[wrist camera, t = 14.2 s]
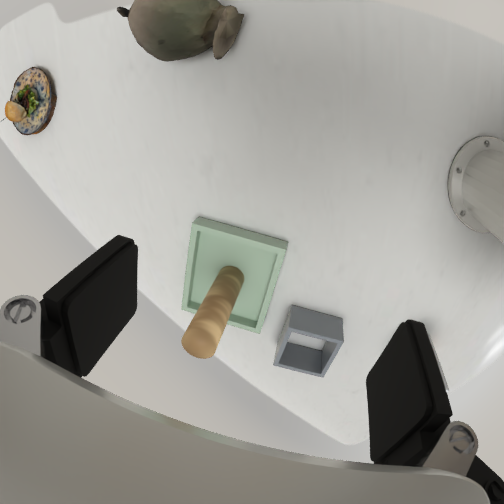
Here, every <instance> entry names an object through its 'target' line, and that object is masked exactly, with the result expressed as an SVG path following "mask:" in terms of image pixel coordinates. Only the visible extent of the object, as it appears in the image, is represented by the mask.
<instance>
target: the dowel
mask: <svg viewBox="0 0 504 504" xmlns="http://www.w3.org/2000/svg"><path fill="white" fill-rule="evenodd" d="M243 283H244V275H243V273H242V271H241V270H240V269H238V268H237V267H235V266H225V267H223V268H222V269H221V270H220V271H219V273H218V275H217V277H216V279H215V280H214V282H213V284H212V286H211V287H210V289H209V291H208V293H207V294H206V296H205V298H204V300H203V301H202V303H201V305H200V307H199V309H198V310H197V312H196V314H195V316H194V318H193V319H192V321H191V323H190V325H189V326H188V328H187V330H186V332H185V334H184V336H183V337H182V346H183V347H184V349H185V350H186V351H187V352H188V353H189V354H190V355H193V356H195V357H197V358H203V359H206V358H210V357H212V356H213V355H214V353H215V351H216V348H217V346H218V343H219V341H220V339H221V336H222V334H223V331H224V329H225V327H226V324H227V322H228V319H229V317H230V314H231V312H232V310H233V307H234V305H235V302H236V300H237V297H238V295H239V293H240V290H241V288H242V285H243Z"/></svg>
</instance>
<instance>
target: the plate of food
mask: <svg viewBox="0 0 504 504" xmlns="http://www.w3.org/2000/svg"><path fill="white" fill-rule="evenodd" d="M56 100H57V96H55V95H54V94H52V91H51V83H50V81H49V79H48V78H47V76H46V74H45V73H44V72H43V71H42V70H41V69H39V68H36V67H32V68H30V69H28V70H26V71H24V72H23V73H22V74H21V75H20V76H19V77H18V78H17V80H16V82H15V83H14V88H13V91H12V95H11V98H10V101H8V102H7V103H6V106H5V114H6V117H7V118H8V119H9V120H10V121H13V124H14V126H15V127H16V129H17V130H18V131H19V132H20V133H21V134H24V135H31V134H37V133H40V132H41V131H42V130H44V129H45V128H46V126H47V125H48V124H49V122H50V120H51V118H52V116H53V114H54V109H55V103H56ZM3 120H4V119H3ZM3 120H2V121H3ZM0 122H1V121H0Z"/></svg>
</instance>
